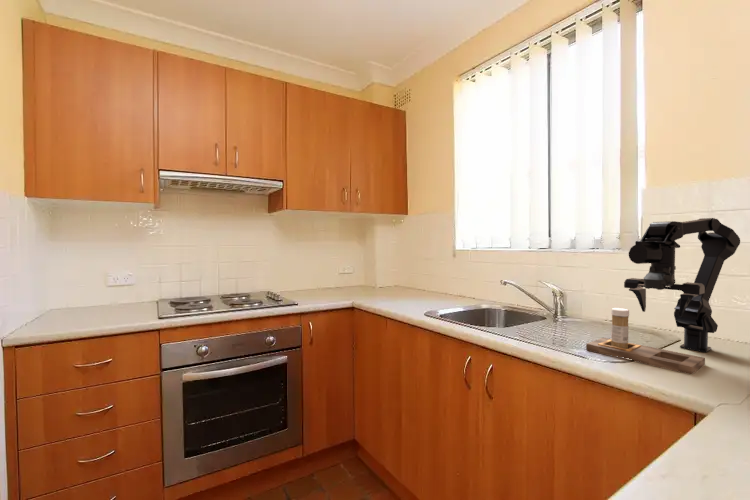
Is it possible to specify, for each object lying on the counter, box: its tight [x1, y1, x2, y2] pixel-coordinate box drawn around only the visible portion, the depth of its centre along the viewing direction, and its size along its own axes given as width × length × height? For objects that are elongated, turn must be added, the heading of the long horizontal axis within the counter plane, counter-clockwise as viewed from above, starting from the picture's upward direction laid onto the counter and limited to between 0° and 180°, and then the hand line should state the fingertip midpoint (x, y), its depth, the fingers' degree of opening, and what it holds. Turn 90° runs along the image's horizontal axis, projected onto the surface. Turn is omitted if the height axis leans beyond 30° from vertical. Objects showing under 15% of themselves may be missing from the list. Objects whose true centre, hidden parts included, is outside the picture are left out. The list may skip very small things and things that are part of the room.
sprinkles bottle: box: [610, 307, 630, 349], centre depth 115 cm, size 5×5×14 cm
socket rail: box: [585, 337, 706, 375], centre depth 110 cm, size 12×26×2 cm, turn 36°
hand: (661, 314), depth 113 cm, fingers open, 9 cm apart
